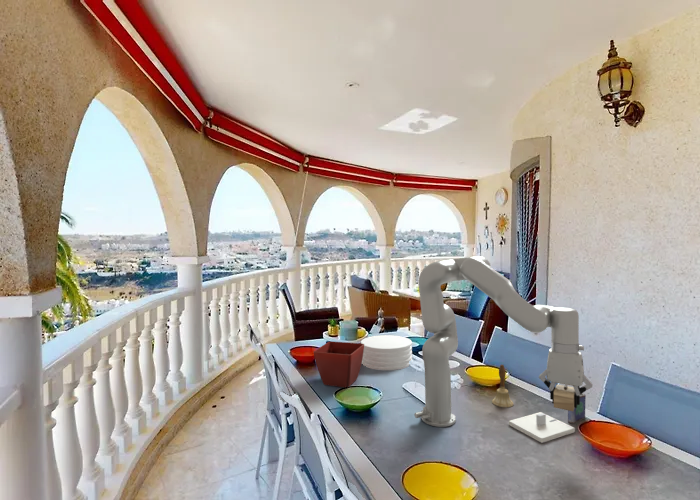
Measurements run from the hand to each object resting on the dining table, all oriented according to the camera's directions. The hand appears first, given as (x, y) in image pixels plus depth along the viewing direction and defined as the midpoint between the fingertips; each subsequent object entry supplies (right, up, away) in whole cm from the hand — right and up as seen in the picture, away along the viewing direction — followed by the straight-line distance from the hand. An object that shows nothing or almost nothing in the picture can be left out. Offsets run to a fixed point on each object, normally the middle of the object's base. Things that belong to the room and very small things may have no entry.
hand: (564, 403), depth 125 cm
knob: (0, 0, 0) cm, 0 cm away
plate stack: (-48, -14, +94) cm, 106 cm away
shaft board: (0, -15, +15) cm, 21 cm away
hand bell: (-5, -14, +37) cm, 40 cm away
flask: (+16, -14, +21) cm, 30 cm away
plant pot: (-73, -15, +65) cm, 99 cm away
